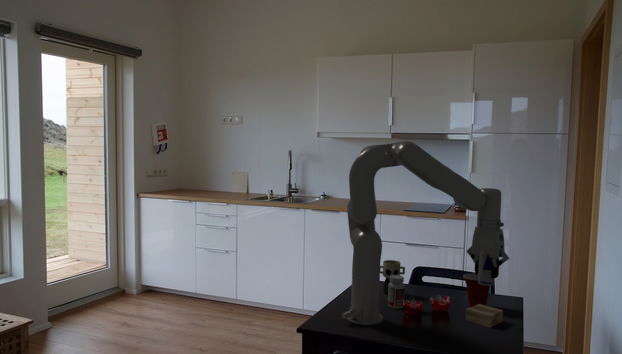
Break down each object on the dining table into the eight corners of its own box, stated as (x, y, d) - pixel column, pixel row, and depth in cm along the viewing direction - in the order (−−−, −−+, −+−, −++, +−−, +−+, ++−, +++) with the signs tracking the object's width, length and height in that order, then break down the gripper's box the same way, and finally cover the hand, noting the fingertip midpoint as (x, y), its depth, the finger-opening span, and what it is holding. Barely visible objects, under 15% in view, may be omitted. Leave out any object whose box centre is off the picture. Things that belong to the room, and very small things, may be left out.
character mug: (378, 295, 193) (379, 263, 192) (376, 289, 200) (377, 259, 199) (405, 296, 192) (406, 264, 192) (403, 291, 199) (404, 260, 199)
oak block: (489, 327, 159) (490, 315, 159) (465, 320, 166) (465, 308, 166) (502, 321, 165) (503, 310, 165) (478, 314, 172) (479, 303, 172)
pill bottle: (405, 305, 181) (406, 275, 180) (402, 310, 175) (403, 279, 175) (389, 302, 183) (390, 273, 183) (385, 307, 178) (386, 277, 177)
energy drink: (495, 286, 162) (497, 251, 161) (479, 285, 163) (480, 250, 162) (492, 282, 167) (494, 248, 167) (476, 281, 168) (478, 247, 168)
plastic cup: (471, 300, 190) (472, 270, 189) (496, 307, 181) (498, 276, 181) (456, 305, 182) (457, 274, 182) (482, 312, 174) (483, 280, 174)
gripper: (518, 226, 160) (515, 279, 161) (471, 220, 173) (469, 269, 174) (507, 228, 155) (505, 283, 156) (460, 222, 168) (458, 272, 169)
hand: (486, 275), depth 165 cm, fingers closed on energy drink, 5 cm apart
